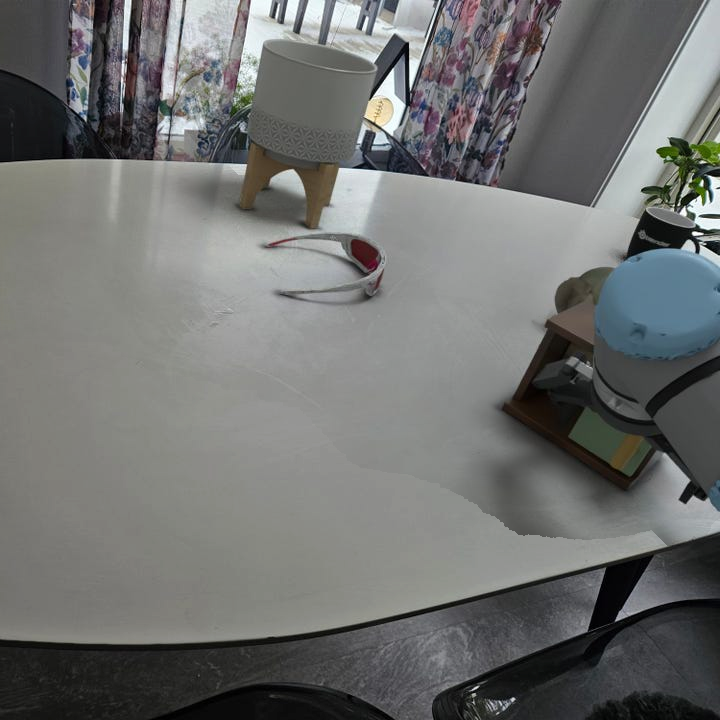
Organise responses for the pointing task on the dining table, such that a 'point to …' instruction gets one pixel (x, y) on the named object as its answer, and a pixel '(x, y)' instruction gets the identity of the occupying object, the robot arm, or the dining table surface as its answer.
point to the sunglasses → (360, 253)
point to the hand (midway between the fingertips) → (626, 451)
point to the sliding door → (609, 442)
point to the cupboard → (536, 406)
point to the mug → (661, 232)
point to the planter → (305, 118)
